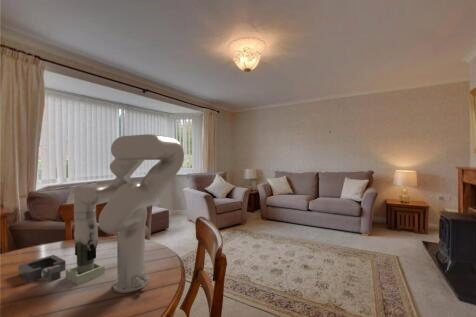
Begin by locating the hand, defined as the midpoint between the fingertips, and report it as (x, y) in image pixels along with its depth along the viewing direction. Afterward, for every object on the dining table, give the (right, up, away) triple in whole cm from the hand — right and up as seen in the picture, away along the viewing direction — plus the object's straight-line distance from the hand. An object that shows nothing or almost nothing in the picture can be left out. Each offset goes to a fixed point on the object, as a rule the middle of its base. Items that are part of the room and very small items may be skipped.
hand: (85, 256), depth 94 cm
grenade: (0, -7, 0) cm, 7 cm away
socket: (-20, -8, +3) cm, 22 cm away
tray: (0, -8, 0) cm, 8 cm away
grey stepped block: (-13, -8, -1) cm, 15 cm away
